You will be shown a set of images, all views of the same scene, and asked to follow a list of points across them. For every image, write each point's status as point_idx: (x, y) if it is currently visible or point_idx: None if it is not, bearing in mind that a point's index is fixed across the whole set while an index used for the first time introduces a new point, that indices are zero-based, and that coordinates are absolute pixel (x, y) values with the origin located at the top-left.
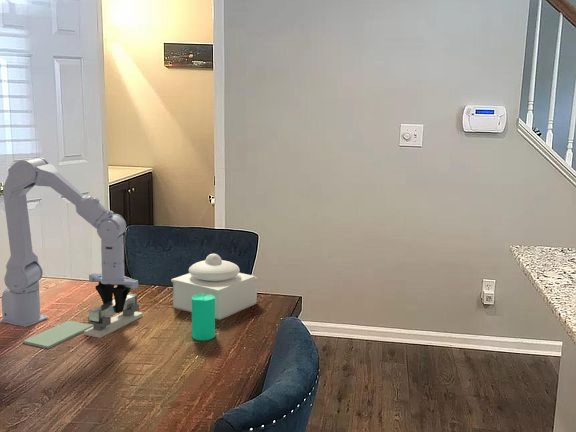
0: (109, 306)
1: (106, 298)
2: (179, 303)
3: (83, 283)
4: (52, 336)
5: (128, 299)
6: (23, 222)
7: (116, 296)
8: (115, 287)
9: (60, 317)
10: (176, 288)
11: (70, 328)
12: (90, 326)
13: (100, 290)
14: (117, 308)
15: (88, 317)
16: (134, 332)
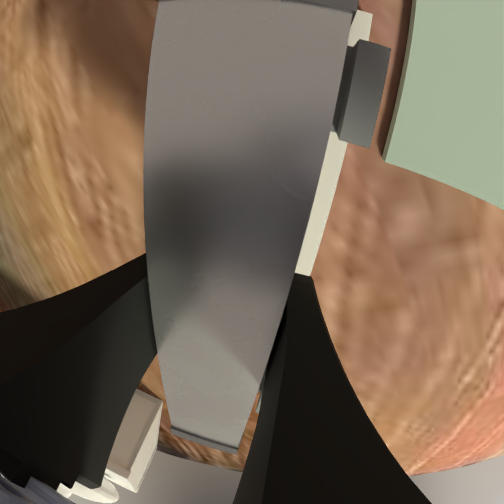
0: (166, 219)
1: (276, 378)
2: (131, 403)
3: (463, 461)
4: None
5: (166, 395)
6: None
7: (33, 326)
8: (16, 457)
9: None
10: (123, 447)
11: (492, 86)
12: (390, 139)
13: (320, 494)
14: (142, 256)
15: (384, 46)
16: (101, 155)
